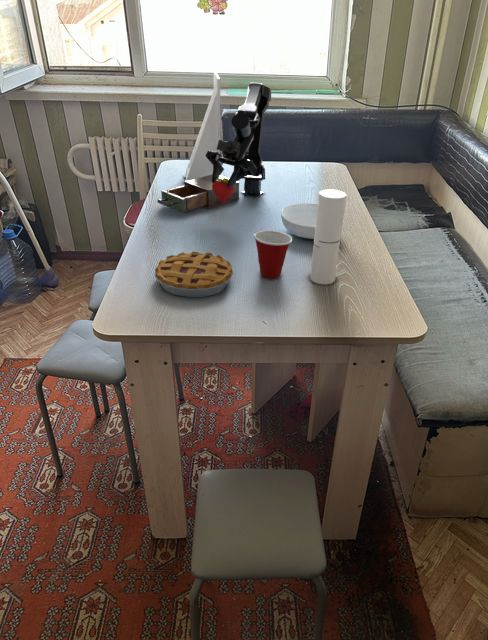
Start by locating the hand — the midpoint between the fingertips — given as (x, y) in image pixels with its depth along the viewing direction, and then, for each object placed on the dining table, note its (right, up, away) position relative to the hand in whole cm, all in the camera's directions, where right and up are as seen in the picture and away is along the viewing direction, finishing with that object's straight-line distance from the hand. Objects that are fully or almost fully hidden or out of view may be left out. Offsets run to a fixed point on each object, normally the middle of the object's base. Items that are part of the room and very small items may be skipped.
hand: (220, 184), depth 179 cm
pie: (-5, -37, -30) cm, 48 cm away
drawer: (-15, -3, +16) cm, 22 cm away
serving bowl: (+31, -16, +2) cm, 35 cm away
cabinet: (-5, +3, +26) cm, 26 cm away
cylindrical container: (+32, -35, -25) cm, 54 cm away
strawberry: (+1, -5, +5) cm, 7 cm away
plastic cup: (+17, -34, -24) cm, 45 cm away
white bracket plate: (-11, +16, +44) cm, 48 cm away
